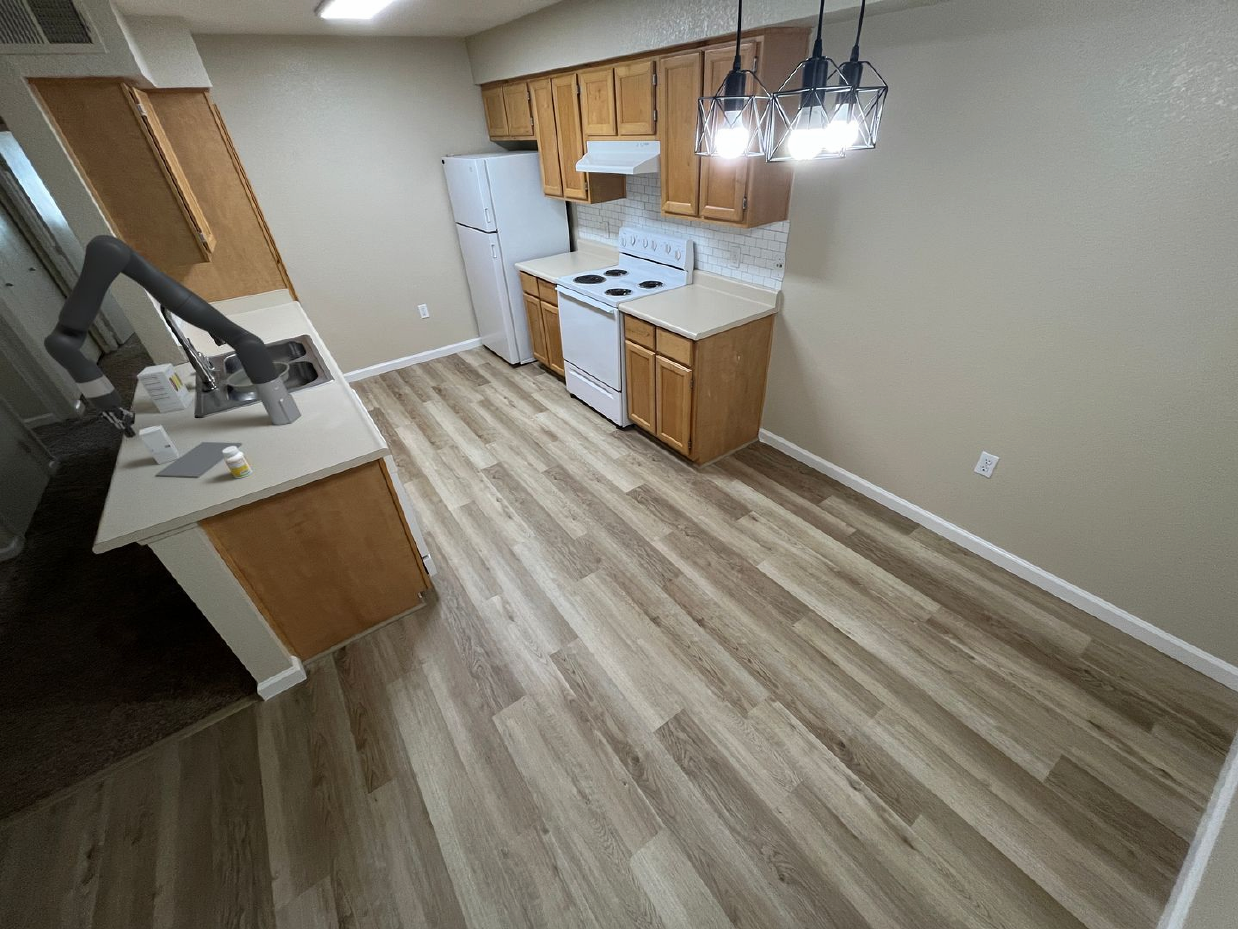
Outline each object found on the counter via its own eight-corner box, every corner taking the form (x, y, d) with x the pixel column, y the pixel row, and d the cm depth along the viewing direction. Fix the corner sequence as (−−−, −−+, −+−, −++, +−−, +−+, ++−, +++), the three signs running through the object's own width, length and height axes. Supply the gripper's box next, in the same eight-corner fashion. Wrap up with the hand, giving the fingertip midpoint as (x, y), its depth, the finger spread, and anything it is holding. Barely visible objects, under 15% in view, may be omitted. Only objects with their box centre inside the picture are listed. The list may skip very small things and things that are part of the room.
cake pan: (294, 384, 223) (289, 375, 221) (229, 400, 214) (224, 391, 211) (292, 365, 241) (288, 357, 238) (232, 379, 232) (227, 370, 229)
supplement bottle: (239, 469, 170) (225, 445, 164) (256, 468, 170) (242, 443, 164) (231, 479, 165) (215, 454, 159) (248, 477, 165) (233, 453, 160)
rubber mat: (242, 444, 183) (241, 443, 183) (198, 477, 167) (197, 476, 167) (203, 443, 185) (202, 442, 185) (156, 476, 169) (155, 474, 169)
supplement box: (186, 409, 209) (162, 371, 200) (160, 413, 207) (135, 376, 197) (193, 399, 217) (171, 362, 207) (168, 403, 215) (145, 366, 205)
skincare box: (158, 465, 175) (137, 435, 168) (159, 459, 178) (138, 429, 171) (179, 458, 178) (159, 429, 170) (180, 453, 181) (160, 423, 174)
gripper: (70, 396, 162) (105, 442, 172) (105, 396, 160) (138, 443, 170) (92, 385, 168) (125, 430, 178) (127, 386, 166) (158, 431, 176)
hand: (131, 436), depth 174 cm, fingers closed
